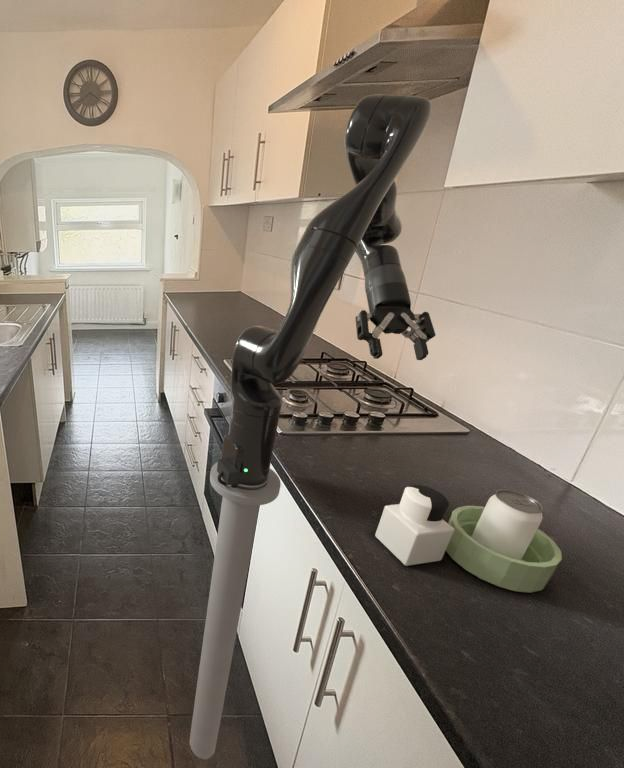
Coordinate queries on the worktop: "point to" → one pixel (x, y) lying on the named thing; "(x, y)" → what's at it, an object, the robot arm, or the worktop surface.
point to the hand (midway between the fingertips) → (400, 357)
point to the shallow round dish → (495, 566)
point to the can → (508, 523)
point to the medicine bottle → (416, 526)
